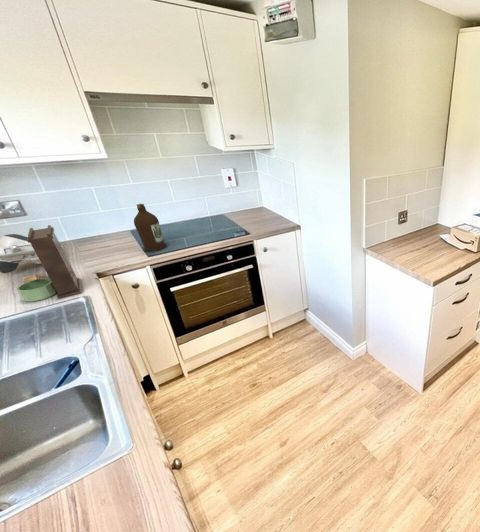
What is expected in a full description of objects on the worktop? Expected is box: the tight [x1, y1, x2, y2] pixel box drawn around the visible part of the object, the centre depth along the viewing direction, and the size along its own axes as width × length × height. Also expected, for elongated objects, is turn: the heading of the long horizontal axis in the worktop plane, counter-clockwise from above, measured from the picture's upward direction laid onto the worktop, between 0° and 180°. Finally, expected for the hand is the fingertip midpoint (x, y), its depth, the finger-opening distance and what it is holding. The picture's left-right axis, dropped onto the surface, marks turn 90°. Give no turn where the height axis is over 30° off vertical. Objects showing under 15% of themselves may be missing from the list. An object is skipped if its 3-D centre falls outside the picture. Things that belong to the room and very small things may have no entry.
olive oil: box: [133, 203, 167, 252], centre depth 173 cm, size 11×11×25 cm
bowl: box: [16, 277, 58, 302], centre depth 133 cm, size 10×10×6 cm
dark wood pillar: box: [26, 224, 82, 300], centre depth 133 cm, size 7×15×27 cm, turn 43°
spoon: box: [22, 272, 46, 283], centre depth 138 cm, size 4×23×2 cm, turn 43°
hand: (23, 245), depth 137 cm, fingers open, 4 cm apart
